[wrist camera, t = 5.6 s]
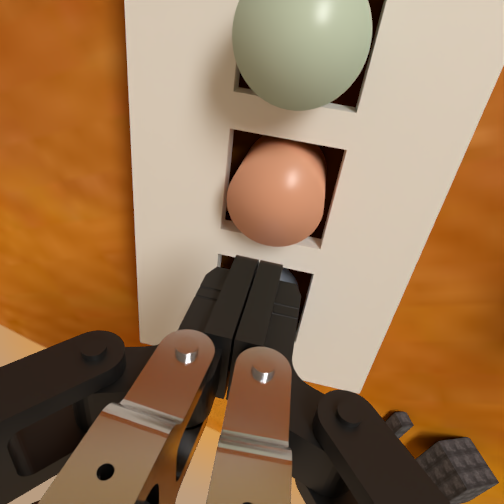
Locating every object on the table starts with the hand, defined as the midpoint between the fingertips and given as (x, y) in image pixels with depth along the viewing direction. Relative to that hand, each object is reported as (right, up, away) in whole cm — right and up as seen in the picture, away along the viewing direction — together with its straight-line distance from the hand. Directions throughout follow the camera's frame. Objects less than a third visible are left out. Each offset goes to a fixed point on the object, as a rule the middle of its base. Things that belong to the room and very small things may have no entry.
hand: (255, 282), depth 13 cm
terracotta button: (+2, +5, +8) cm, 9 cm away
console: (+2, +5, +8) cm, 10 cm away
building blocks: (+13, -12, +17) cm, 25 cm away
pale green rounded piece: (+2, +10, +3) cm, 10 cm away
